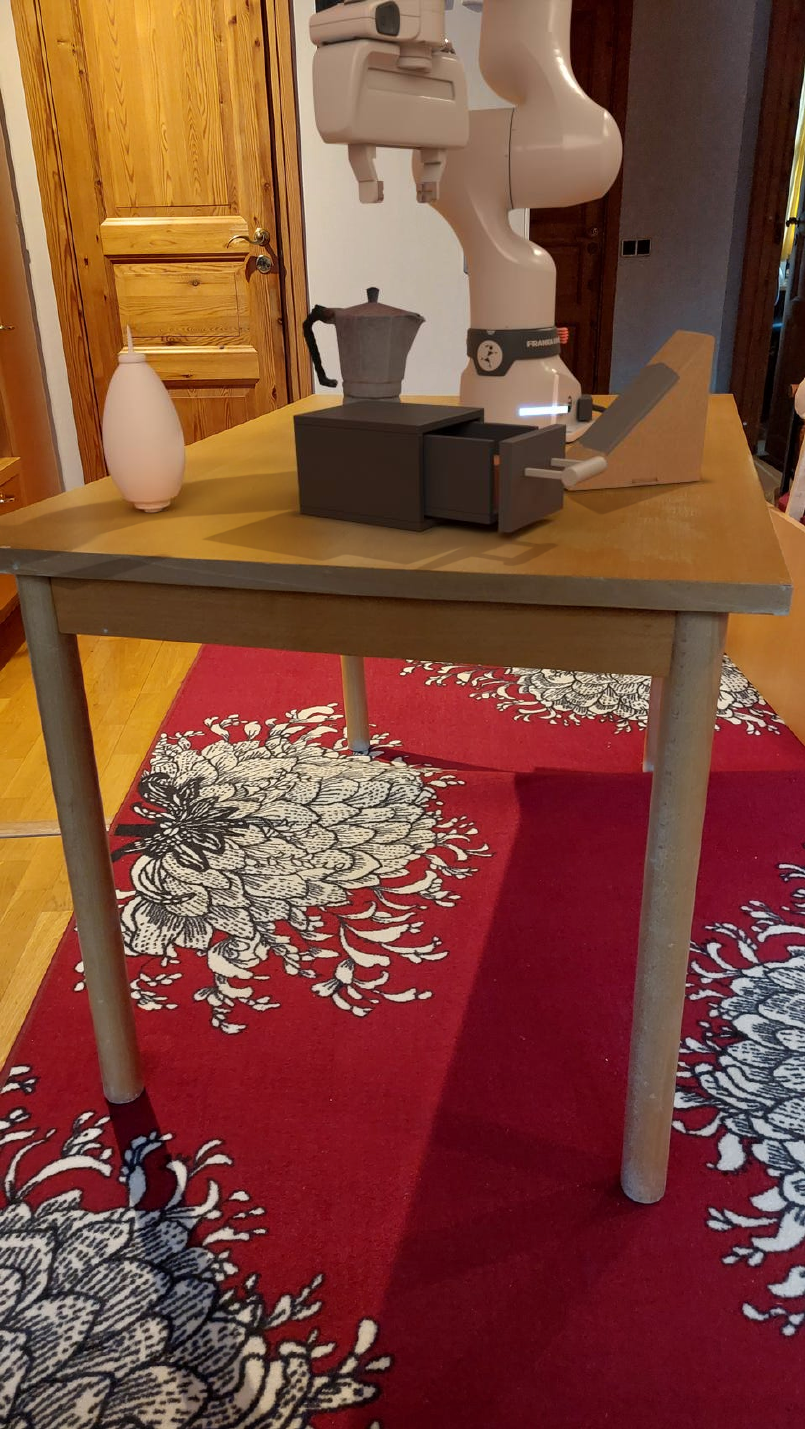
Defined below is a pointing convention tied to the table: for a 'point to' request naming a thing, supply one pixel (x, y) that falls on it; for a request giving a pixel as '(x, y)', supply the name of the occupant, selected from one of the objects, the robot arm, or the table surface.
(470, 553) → the table surface
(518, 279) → the robot arm
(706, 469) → the table surface
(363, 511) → the dark drawer cabinet
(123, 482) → the air blower bulb
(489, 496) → the sliding drawer unit
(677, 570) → the table surface
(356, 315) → the moka pot
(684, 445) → the sandwich container
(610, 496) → the table surface
